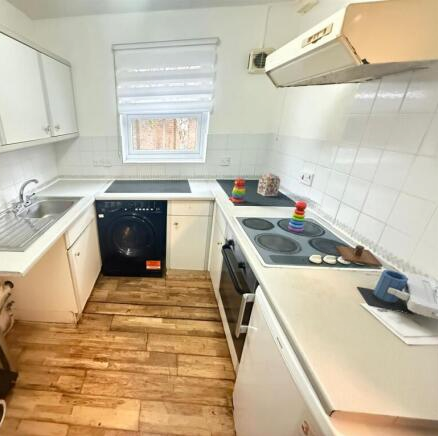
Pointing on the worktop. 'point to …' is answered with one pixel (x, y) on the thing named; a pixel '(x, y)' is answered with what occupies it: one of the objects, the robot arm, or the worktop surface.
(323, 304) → the worktop surface
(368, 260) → the platform
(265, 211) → the worktop surface
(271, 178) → the decorative jar
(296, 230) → the stacking toy
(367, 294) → the mat
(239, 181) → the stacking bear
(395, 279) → the blue ribbed cup
